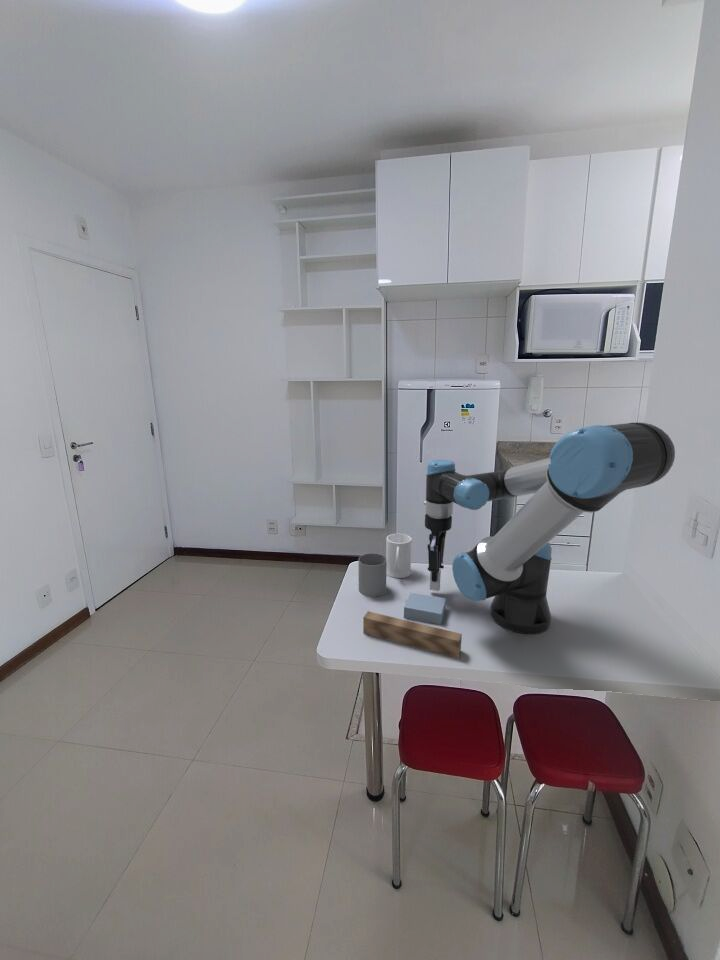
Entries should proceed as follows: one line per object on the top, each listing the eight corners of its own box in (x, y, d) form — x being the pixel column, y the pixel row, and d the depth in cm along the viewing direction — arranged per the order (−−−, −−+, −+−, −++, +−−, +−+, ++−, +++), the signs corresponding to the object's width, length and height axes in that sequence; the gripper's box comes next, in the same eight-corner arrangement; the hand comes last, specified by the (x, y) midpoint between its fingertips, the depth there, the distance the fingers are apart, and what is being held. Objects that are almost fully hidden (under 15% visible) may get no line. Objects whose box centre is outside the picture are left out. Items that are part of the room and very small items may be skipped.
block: (445, 609, 119) (445, 598, 118) (440, 625, 112) (441, 614, 111) (410, 603, 122) (410, 592, 121) (403, 618, 115) (404, 607, 114)
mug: (408, 584, 131) (409, 549, 128) (381, 581, 133) (381, 546, 130) (412, 567, 142) (413, 534, 139) (387, 564, 144) (388, 532, 141)
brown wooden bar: (460, 650, 101) (461, 633, 100) (458, 657, 99) (459, 641, 98) (367, 626, 111) (367, 611, 109) (363, 632, 108) (363, 617, 107)
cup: (356, 595, 126) (356, 564, 123) (360, 581, 133) (360, 552, 131) (384, 597, 124) (385, 566, 122) (387, 583, 132) (388, 554, 129)
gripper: (431, 505, 127) (428, 576, 133) (419, 520, 115) (416, 597, 122) (456, 509, 124) (451, 581, 130) (446, 524, 112) (442, 602, 119)
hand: (434, 589), depth 126 cm, fingers closed
